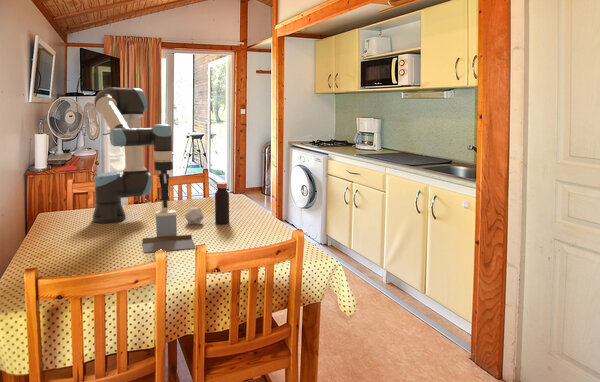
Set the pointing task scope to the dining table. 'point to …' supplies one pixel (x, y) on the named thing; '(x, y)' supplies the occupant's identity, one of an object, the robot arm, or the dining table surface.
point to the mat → (168, 245)
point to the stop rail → (167, 238)
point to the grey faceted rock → (194, 216)
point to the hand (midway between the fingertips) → (165, 214)
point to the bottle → (222, 204)
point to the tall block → (166, 223)
